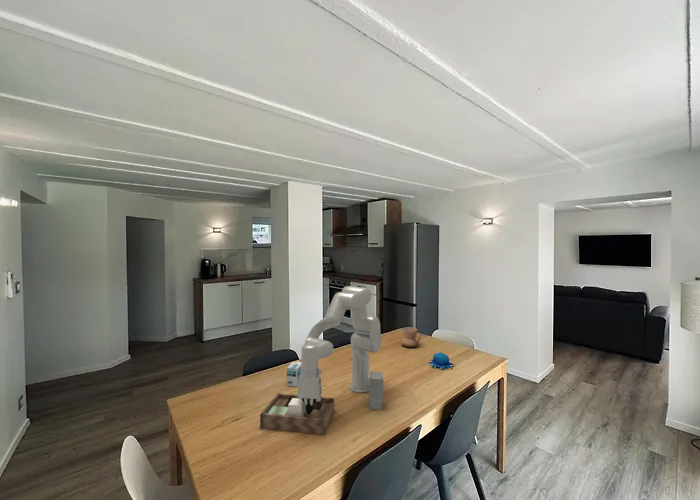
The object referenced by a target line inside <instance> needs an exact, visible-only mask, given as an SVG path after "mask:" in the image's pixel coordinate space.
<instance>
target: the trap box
mask: <svg viewBox="0 0 700 500" xmlns="http://www.w3.org/2000/svg"><path fill="white" fill-rule="evenodd" d="M292 398H298V394H292V393H278V392H277V394H276V395H275V396H274V397H273V398H272V400H271V401H270V402H269V403H268V405H267V406H266V407H265V408H264V409H263V410H262V412H261V413H260V416H259V418H260V419H259V423H260V425H259V426H260V427H259V428H260V429H266V430H267V429H269V430H276V431H278V430H279V431H285V432H286V431H287V432H296V433H306V434H315V435H322V436H323V435H324V436H325V434H326V432H327V430H328V427H329V425H330V422H331V420H332V417H333V414H334V411H335V398H334V397H326V396H321V400H320V401H316V402H315V403H314V404H313V411H312V412H311V414H307V411H306V405H305V413H304V415H303V417H299V416H289V415H288V404H289V403H290V401H291V400H292ZM310 400H311V399H309V402H310Z"/></svg>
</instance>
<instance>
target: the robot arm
mask: <svg viewBox="0 0 700 500" xmlns="http://www.w3.org/2000/svg"><path fill="white" fill-rule="evenodd" d="M372 297H373V294H372V290H371V289H369V288H367V287H364V286H363V287H362V286H353V285H352V286H351V285H349V286H344V287H343V288H342V290H341V291H338V292H336V293H335V294H334V296H333V298H332V300H331V302H330V304H329V307H328V308H327V312H326V314H325V316H324V317H322V319H320V320H319V321H318V322H316V324H314V325H313V326H312V327H311V329H310V330H309V333H308V334H307V336H306V339H305V341H304V342H305V343H304V344H303V345H302V347H301V362H302V367H301V374H300V378H299V384H298V386H297V395H298V399H300V400H302V401H303V402H304V403H305V405H306V411H307V414H311V412H312V411H313V404H314V403H315V402H316V401H320V400H321V397H322V390H323V389H322V379H321V374H322V370H321V369H320V367H319V359H324V358H328V357H330V356H331V355H332V354H333V353H334V348H335V347H334V344H333V343H332V342H330V341H328V340H325V339H323V338H322V339H321V338H320V336H321V335H322V334H323V333H324V332H325V331H327V330H329V329H332V328H335V327H338V326H339V325H340V324H341V323H342V320H343V318H344V315H345V313H346V311H347V310H349V311H351V318H352V319H351V321H352V327H353V329H354V330H355V332H353V333H352V334H351V337H350V346H351V352H352V353H351V354H352V363H351V364H352V367H351V368H352V369H351V370H352V375H351V376H352V377H351V380H352V381H351V383H349V389H350V391H352V392H354V393H360V394H361V393H369V388H370V355H369V353H368V352H370V353H375V354H376V353H378V352H379V351H380V348H381V346H382V345H381V344H382V343H381V342H382V339H381V338H382V336H381V335H382V334H381V333H382V332H381V322H380V320H379V318H378V316H375V315H370V314H368V310H367V309H368V308H367V304H369V302H371V299H372ZM356 331H357V332H356ZM309 399H311V400H310V402H309Z"/></svg>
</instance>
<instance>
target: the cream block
mask: <svg viewBox="0 0 700 500" xmlns="http://www.w3.org/2000/svg"><path fill="white" fill-rule="evenodd" d="M304 413H305V403H304V402H303V401H302V400H300V399H298V398H292V400H291V401H290V403H289V404H288V415H289V416H299V417H303V415H304Z"/></svg>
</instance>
